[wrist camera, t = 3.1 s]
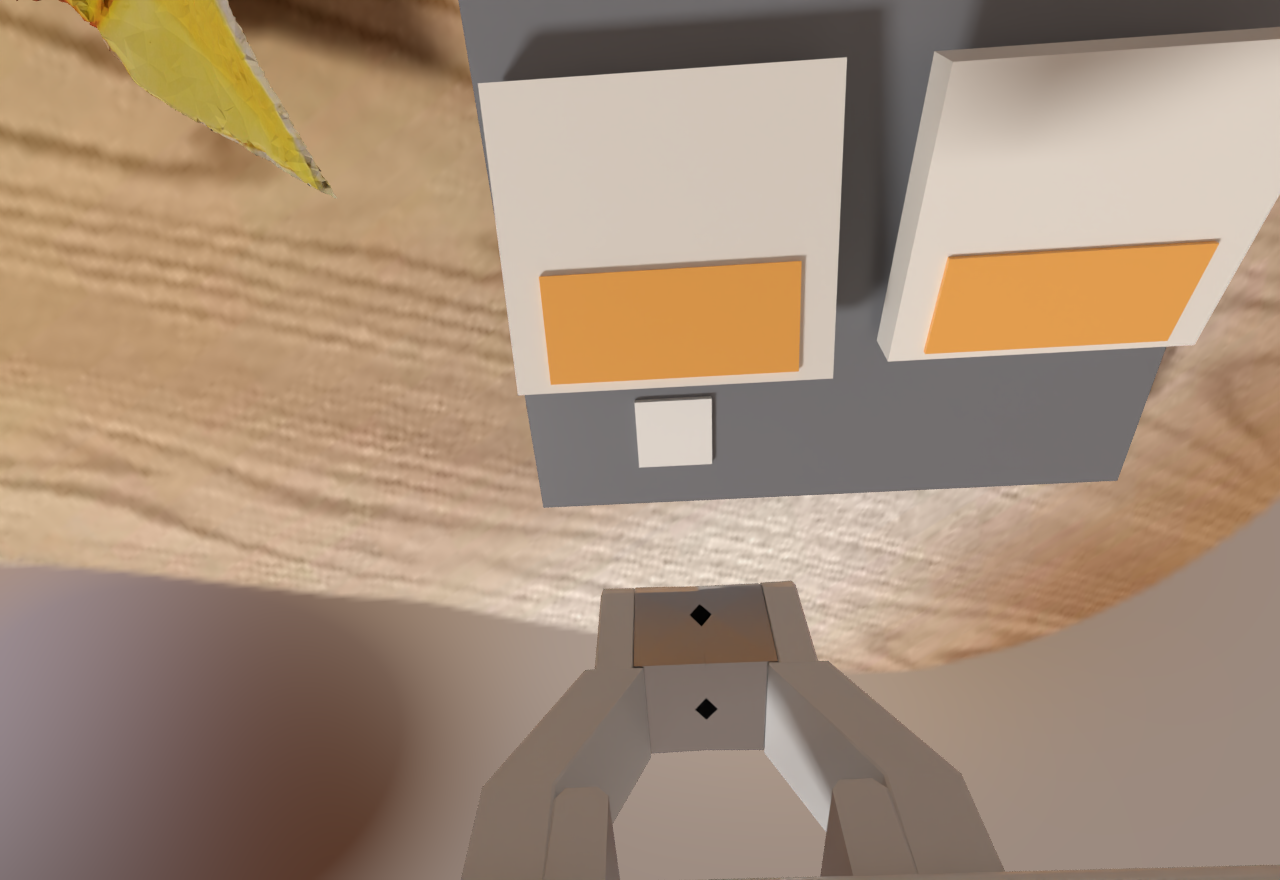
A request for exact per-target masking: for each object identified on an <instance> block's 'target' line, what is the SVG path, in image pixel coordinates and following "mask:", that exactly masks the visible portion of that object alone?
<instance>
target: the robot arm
mask: <svg viewBox="0 0 1280 880" xmlns="http://www.w3.org/2000/svg"><path fill="white" fill-rule="evenodd" d="M699 750H764V753H765V754H766V755H767V757H768V758H769V759H770V761H771V762H772V763H773V764H774V766H775V767H776V768H777V770H778V771H779V772H780V773H781V774H782V776H783V777H784V779H786V781H787V782H788V784H789V785H790V786H791V787H792V789H793V790H794V791H795V793H796V794H797V795H798V797H799V798H800V799H801V800H802V802H803V803H804V804H805V805H806V807H807V808H808V809H809V811H810V812H811V813H812V814H813V816H814V817H815V818H816V819H817V821H818V822H819V823H820V825H821V826H822V827H823V829H824V830H825V831H826V839H825V846H824V854H823V861H822V868H821V876H820V877H788V878H750V879H715V880H1280V865H1248V866H1246V865H1245V866H1208V867H1168V868H1131V869H1130V868H1129V869H1090V870H1051V871H1014V872H1013V871H1012V872H1005V870H1004V868H1003V866H1002V864H1001V861H1000V859H999V857H998V855H997V852H996V850H995V848H994V846H993V843H992V841H991V839H990V837H989V834H988V832H987V830H986V828H985V826H984V824H983V821H982V819H981V817H980V815H979V812H978V810H977V808H976V806H975V803H974V801H973V799H972V797H971V794H970V792H969V790H968V788H967V785H966V783H965V781H964V779H963V776H962V774H961V773H960V772H959V771H957V770H956V769H955V768H954V767H953V766H952V765H951V764H949V763H948V762H947V761H946V760H945V759H943V758H942V757H941V756H940V755H939V754H938V753H936V752H935V751H934V750H933V749H932V748H930V747H929V746H928V745H927V744H926V743H924V742H923V741H922V740H921V739H920V738H918V737H917V736H916V735H915V734H914V733H913V732H911V731H910V730H909V729H908V728H907V727H905V726H904V725H903V724H902V723H901V722H900V721H898V720H897V719H896V718H895V717H894V716H893V715H891V714H890V713H889V712H888V711H886V710H885V709H884V708H883V707H882V706H881V705H880V704H878V703H877V702H876V701H875V700H874V699H872V698H871V697H870V696H869V695H868V694H867V693H865V692H864V691H863V690H862V689H860V688H859V687H858V686H857V685H856V684H855V683H853V682H852V681H851V680H850V679H849V678H848V677H846V676H845V675H844V674H843V673H842V672H841V671H839V670H838V669H837V668H836V667H835V666H833V665H832V664H831V663H830V662H829V661H818V659H817V656H816V653H815V649H814V646H813V642H812V639H811V636H810V632H809V629H808V626H807V622H806V619H805V615H804V612H803V609H802V605H801V602H800V599H799V595H798V592H797V588H796V585H795V584H794V583H793V582H792V581H782V582H765V583H760V584H759V583H755V584H735V585H715V586H696V587H643V588H635V589H634V588H625V589H603V592H602V595H601V602H600V614H599V625H598V637H597V649H596V660H595V669H594V670H585V671H584V672H583V673H582V674H581V675H580V677H579V678H578V679H577V680H576V681H575V682H574V683H573V685H572V686H571V687H570V688H569V689H568V690H567V691H566V692H565V694H564V695H563V696H562V697H561V698H560V699H559V701H558V702H557V703H556V704H555V705H554V706H553V707H552V708H551V710H550V711H549V712H548V713H547V714H546V715H545V717H544V718H543V719H542V720H541V721H540V722H539V723H538V724H537V726H536V727H535V728H534V729H533V730H532V731H531V732H530V734H529V735H528V736H527V737H526V738H525V739H524V740H523V742H522V743H521V744H520V745H519V746H518V747H517V748H516V750H515V751H514V752H513V753H512V754H511V755H510V756H509V757H508V759H507V760H506V761H505V762H504V763H503V764H502V766H501V767H500V768H499V769H498V770H497V771H496V772H495V773H494V775H493V776H492V777H491V778H490V779H489V780H488V781H487V783H486V784H485V785H484V786H483V788H482V791H481V795H480V800H479V805H478V808H477V813H476V817H475V821H474V826H473V830H472V834H471V838H470V843H469V847H468V851H467V855H466V860H465V864H464V868H463V873H462V877H461V880H620V876H619V869H618V862H617V854H616V848H615V840H614V832H613V825H612V824H613V823H614V821H615V819H616V817H617V816H618V814H619V812H620V810H621V809H622V807H623V805H624V803H625V802H626V800H627V798H628V796H629V795H630V792H631V791H632V789H633V788H634V786H635V784H636V782H637V781H638V779H639V777H640V775H641V774H642V772H643V770H644V769H645V767H646V765H647V763H648V762H649V760H650V758H651V753H667V752H682V751H699ZM711 880H713V879H711Z"/></svg>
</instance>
